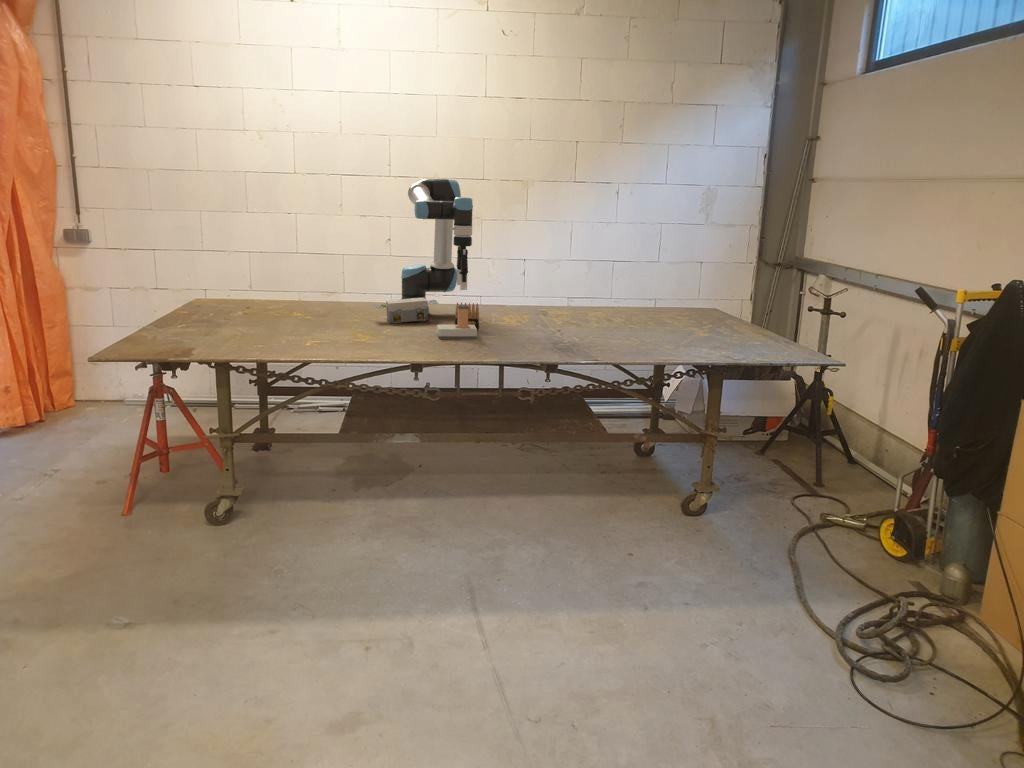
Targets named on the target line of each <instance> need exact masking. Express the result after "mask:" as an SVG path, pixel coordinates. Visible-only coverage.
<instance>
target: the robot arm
mask: <svg viewBox="0 0 1024 768" xmlns="http://www.w3.org/2000/svg"><path fill="white" fill-rule="evenodd" d="M407 194H408V195H407V196H408V198H409V200H410V202H411V203H412V204H413V205H414V217H415V218H416V219H418V220H434V243H433V261H432V262H430V264H429V265H430V266H429V267H426V264H413V265H408V266H405V267H403V268H402V269H401V277H400V278H401V298H400V299H411V298H425V299H426V300H427V297H426V295H427V293H449V292H451V293H452V292H454V290H456V289H455V288H456V287H457V286H460V287H459V290H460V291H468V273H469V270H468V269H469V267H468V266H469V264H468V254H469V252H468V249H467V247H472V245H473V241H472V240H473V238H472V235H473V208H474V205H473V198H471V197H462V196H461V195H462V194H461V189H460V185H459V182H458V181H457V180H455V179H449V178H421V179H419V180H416V181H415V182H413V183H412V184H411V185H409V188H408V192H407ZM453 246H455V247H457V251H456V252H457V253H456V254H457V255H456V256H457V258H456V259H457V260H456V267H455V264H454V263H453V261H452V257H453V255H452V254H453ZM427 314H428V315H429V314H430V307H429V305H428V306H427Z"/></svg>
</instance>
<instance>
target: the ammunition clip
mask: <svg viewBox="0 0 1024 768" xmlns="http://www.w3.org/2000/svg"><path fill="white" fill-rule="evenodd" d="M458 305H463V303H462V302H461V303H460V304H459V302H456V305H455V318H454V319H455V320H454V321H455V322H454V325H458ZM464 305H467V303H466V302H465V303H464ZM479 311H480V310H479V303H476V305H475V303H474V302H473V303H472V306H471V303H470V302H469V303H468V325H475V327H476V329H477V331H479V330H480V321H479V320H480V312H479Z"/></svg>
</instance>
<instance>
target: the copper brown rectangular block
mask: <svg viewBox="0 0 1024 768" xmlns="http://www.w3.org/2000/svg"><path fill="white" fill-rule="evenodd" d="M468 305H469V304H468ZM468 305H467V304H466V305H465V304H462V305H461V304H459V305H458V326H457V328H468Z"/></svg>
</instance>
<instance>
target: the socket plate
mask: <svg viewBox="0 0 1024 768" xmlns="http://www.w3.org/2000/svg"><path fill="white" fill-rule="evenodd" d="M457 326H458V325H455V324H436V334H437V338H438V339H439V340H440V339H441V340H442V339H446V340H447V339H450V340H453V339H458V340H459V339H460V340H461V339H462V340H466V339H469V340H470V339H473V340H474V339H475V340H477V338H478V330H477V329H476V327H475V325H468V328H457Z"/></svg>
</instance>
